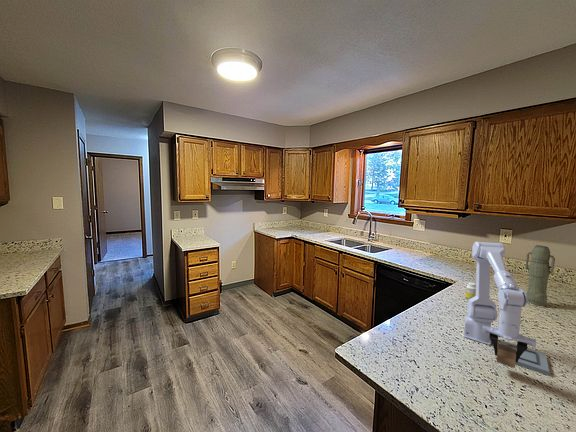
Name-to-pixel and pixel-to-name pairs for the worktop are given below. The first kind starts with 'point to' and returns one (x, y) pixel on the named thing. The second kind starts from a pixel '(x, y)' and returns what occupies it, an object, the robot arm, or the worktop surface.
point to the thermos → (539, 275)
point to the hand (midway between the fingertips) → (505, 357)
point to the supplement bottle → (470, 290)
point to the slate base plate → (531, 359)
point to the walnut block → (506, 355)
